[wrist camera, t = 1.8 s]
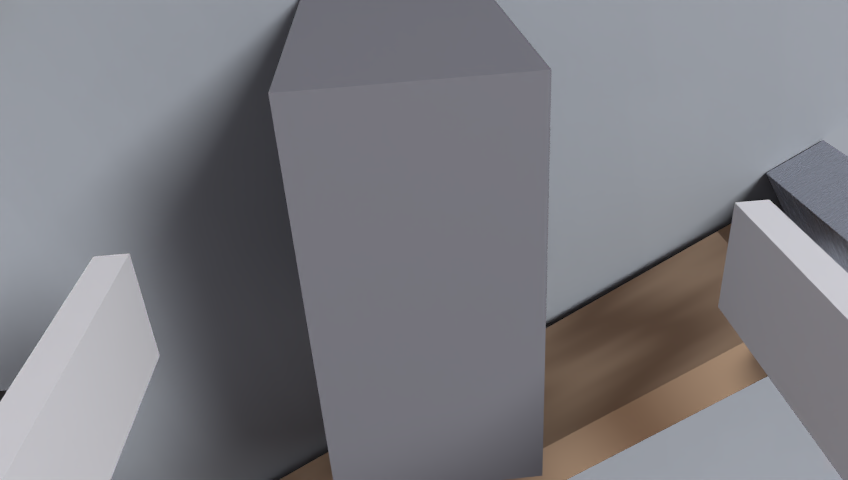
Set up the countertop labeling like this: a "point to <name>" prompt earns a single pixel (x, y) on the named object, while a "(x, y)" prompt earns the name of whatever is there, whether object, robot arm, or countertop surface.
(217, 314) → the countertop surface
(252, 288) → the countertop surface
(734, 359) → the gate
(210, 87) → the countertop surface
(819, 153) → the grey blocks
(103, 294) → the robot arm
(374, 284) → the rubber block
